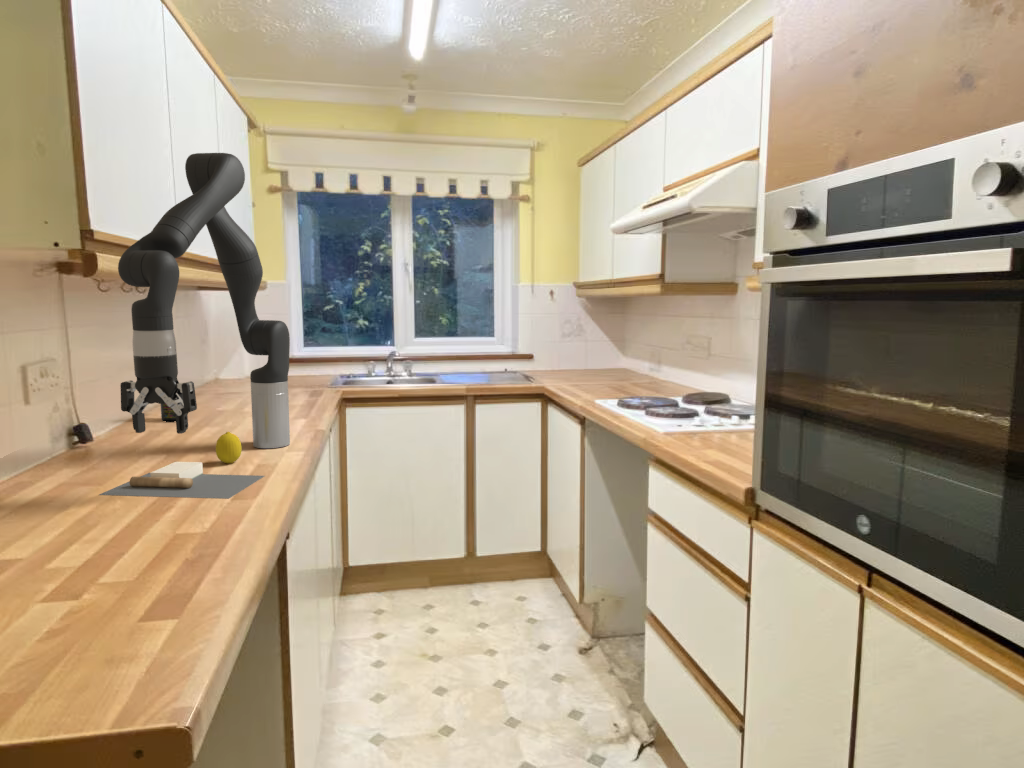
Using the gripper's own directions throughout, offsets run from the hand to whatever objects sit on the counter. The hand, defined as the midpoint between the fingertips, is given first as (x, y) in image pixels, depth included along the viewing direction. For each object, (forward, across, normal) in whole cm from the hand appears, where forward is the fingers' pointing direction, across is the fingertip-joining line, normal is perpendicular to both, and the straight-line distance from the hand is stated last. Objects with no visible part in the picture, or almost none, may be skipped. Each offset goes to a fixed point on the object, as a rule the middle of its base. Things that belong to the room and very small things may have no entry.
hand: (161, 432), depth 127 cm
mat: (+12, -4, -1) cm, 12 cm away
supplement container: (+13, +40, -70) cm, 82 cm away
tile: (+10, 0, 0) cm, 10 cm away
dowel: (+12, 0, +1) cm, 12 cm away
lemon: (+12, -4, -19) cm, 23 cm away
